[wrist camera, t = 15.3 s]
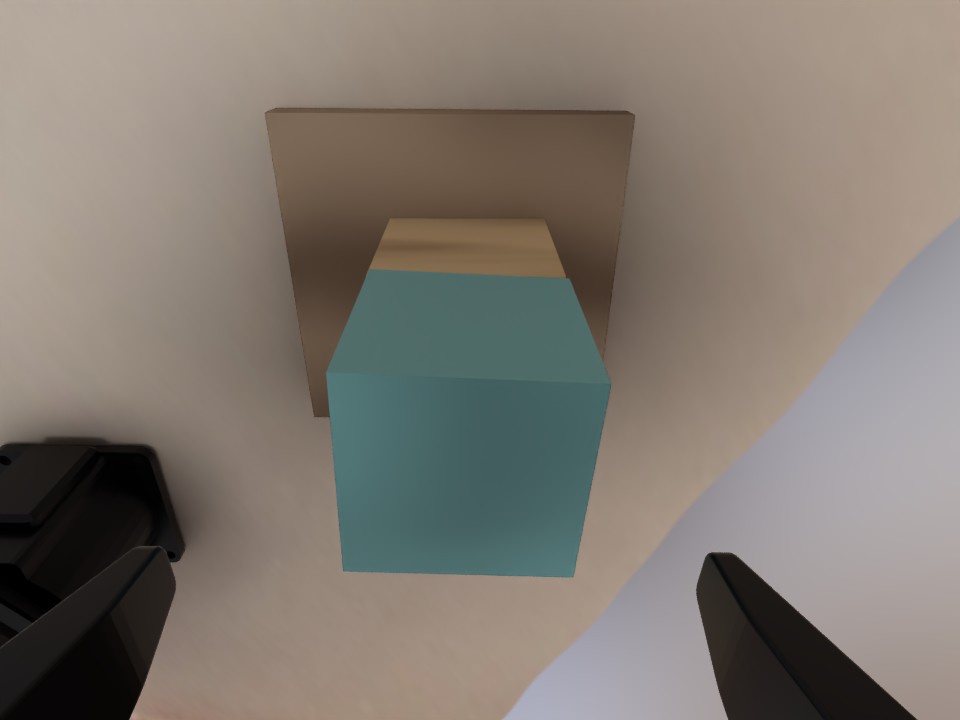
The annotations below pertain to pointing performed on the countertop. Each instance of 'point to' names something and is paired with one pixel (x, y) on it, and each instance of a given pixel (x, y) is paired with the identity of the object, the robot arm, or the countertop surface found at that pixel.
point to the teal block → (465, 424)
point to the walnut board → (440, 197)
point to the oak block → (469, 247)
